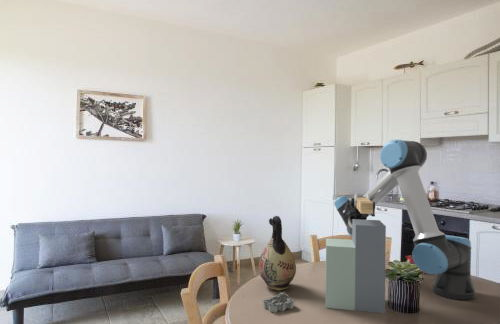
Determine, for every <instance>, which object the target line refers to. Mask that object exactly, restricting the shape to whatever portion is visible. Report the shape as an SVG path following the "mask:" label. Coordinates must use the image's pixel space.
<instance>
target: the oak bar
mask: <svg viewBox="0 0 500 324" xmlns="http://www.w3.org/2000/svg"><path fill="white" fill-rule="evenodd" d="M356 208H357V209H358V210H359V212H360V213H361V214H373V202H372V201H370V200H369V199H368V198H366V197H363V196H357V203H356Z"/></svg>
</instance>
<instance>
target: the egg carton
mask: <svg viewBox="0 0 500 324" xmlns="http://www.w3.org/2000/svg"><path fill="white" fill-rule="evenodd" d="M261 301H262V303H263V307H262V308H263V309H267V310H268V312H269V313H275V314H276V313H278V311H282V312H284V311H286V309H289V310H292V309H294V302H296V300H295V299H292V297H290V296H289V295H288V294H287V293H286V291H281V292H279V293H277V295H273V296H272V297H268V298H266V299H265V298H264V299H262V300H261Z"/></svg>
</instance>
